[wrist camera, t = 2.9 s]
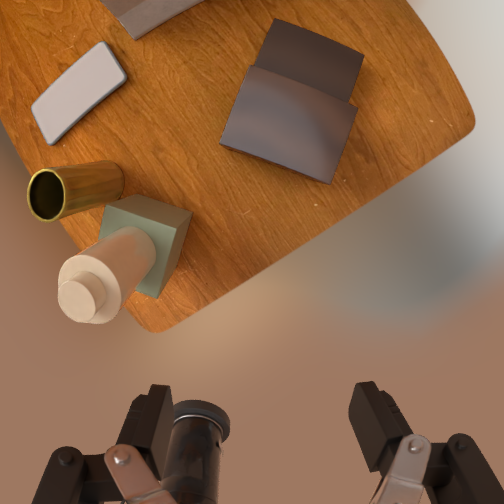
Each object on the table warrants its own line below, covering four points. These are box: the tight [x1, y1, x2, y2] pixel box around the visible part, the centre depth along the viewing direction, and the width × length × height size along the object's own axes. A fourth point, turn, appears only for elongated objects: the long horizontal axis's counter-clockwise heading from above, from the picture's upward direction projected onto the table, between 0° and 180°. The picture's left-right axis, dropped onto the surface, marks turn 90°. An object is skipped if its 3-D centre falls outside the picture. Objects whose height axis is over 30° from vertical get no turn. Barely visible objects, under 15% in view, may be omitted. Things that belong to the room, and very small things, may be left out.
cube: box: [98, 194, 193, 299], centre depth 35 cm, size 8×8×10 cm
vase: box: [27, 160, 124, 223], centre depth 31 cm, size 6×6×14 cm
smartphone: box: [31, 41, 127, 145], centre depth 33 cm, size 8×1×15 cm
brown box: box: [219, 18, 364, 185], centre depth 32 cm, size 18×12×8 cm, turn 160°
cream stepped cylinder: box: [58, 226, 156, 324], centre depth 24 cm, size 6×6×12 cm
